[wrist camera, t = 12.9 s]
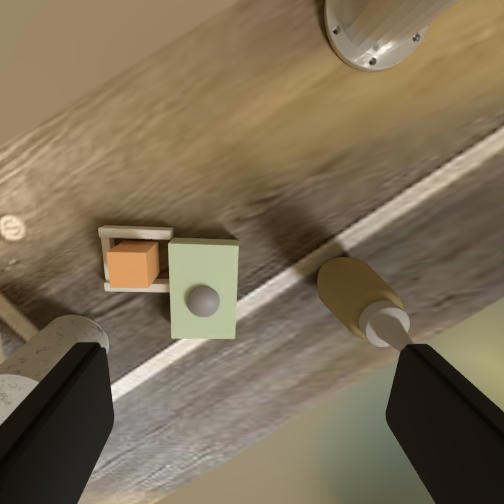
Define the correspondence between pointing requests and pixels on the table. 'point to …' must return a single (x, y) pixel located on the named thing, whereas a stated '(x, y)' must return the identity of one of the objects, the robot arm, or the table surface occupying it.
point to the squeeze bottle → (363, 302)
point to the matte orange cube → (133, 264)
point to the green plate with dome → (189, 280)
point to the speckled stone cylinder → (43, 357)
